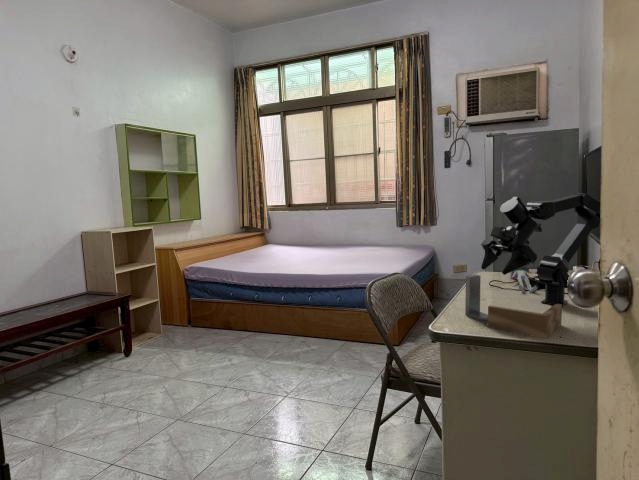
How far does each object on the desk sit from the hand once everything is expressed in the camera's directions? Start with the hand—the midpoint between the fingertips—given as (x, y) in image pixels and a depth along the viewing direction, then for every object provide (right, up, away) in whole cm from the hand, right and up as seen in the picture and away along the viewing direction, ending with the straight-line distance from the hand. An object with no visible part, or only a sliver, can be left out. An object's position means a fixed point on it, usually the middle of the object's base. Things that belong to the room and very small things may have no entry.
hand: (492, 271), depth 136 cm
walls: (+4, -15, -12) cm, 20 cm away
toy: (+27, -8, +38) cm, 48 cm away
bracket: (-5, -14, -4) cm, 15 cm away
